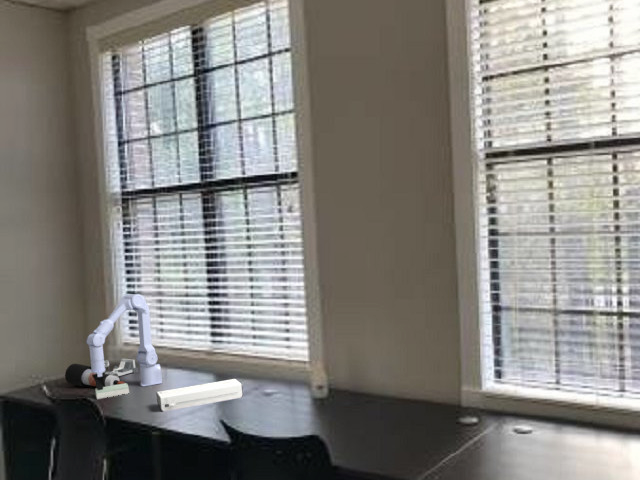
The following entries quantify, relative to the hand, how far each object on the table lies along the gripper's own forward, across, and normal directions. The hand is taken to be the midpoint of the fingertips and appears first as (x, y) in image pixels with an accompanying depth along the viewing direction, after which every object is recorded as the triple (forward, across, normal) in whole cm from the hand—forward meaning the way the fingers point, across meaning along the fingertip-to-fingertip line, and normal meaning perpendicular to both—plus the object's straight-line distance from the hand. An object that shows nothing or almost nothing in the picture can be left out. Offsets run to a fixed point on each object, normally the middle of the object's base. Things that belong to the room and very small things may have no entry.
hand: (100, 389), depth 316 cm
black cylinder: (+4, -22, +1) cm, 22 cm away
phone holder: (+4, -43, +12) cm, 44 cm away
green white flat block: (+3, 0, +5) cm, 6 cm away
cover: (+1, 0, +5) cm, 5 cm away
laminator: (+4, +40, +37) cm, 55 cm away
